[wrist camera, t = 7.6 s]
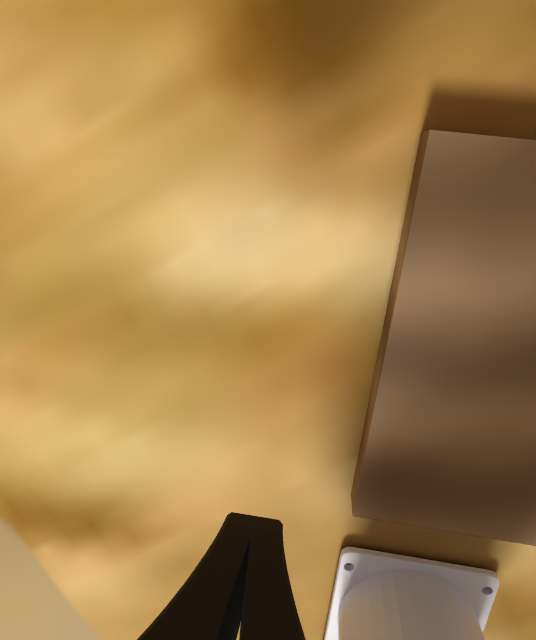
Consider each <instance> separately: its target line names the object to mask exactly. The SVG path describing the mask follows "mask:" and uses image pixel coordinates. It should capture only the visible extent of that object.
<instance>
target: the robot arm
mask: <svg viewBox="0 0 536 640" xmlns="http://www.w3.org/2000/svg"><path fill="white" fill-rule="evenodd" d="M346 563H351V565H347V564H346ZM499 585H500V580H499V578H498V576H497V574H496V573H495V572H494V571H491V570H486V569H480V568H474V567H469V566H463V565H457V564H451V563H445V562H439V561H433V560H427V559H421V558H415V557H409V556H403V555H397V554H391V553H385V552H380V551H374V550H368V549H362V548H356V547H345V548H344V549H342V551H341V553H340V558H339V563H338V568H337V573H336V579H335V584H334V589H333V594H332V599H331V604H330V609H329V614H328V619H327V625H326V630H325V635H324V640H485V639H484V636H483V631H484V628H485V625H486V622H487V619H488V616H489V613H490V611H491V608H492V605H493V602H494V599H495V596H496V593H497V591H498V588H499ZM485 587H487V588H485ZM240 623H241V627H240V639H239V640H306V639H305V636H304V633H303V630H302V626H301V623H300V620H299V616H298V613H297V609H296V605H295V602H294V598H293V593H292V589H291V585H290V581H289V576H288V571H287V566H286V560H285V554H284V546H283V524H282V523H281V522H280V521H279V520H276V519H270V518H264V517H258V516H252V515H245V514H239V513H233V512H232V513H230V514H228V515H227V517H226V519H225V521H224V523H223V525H222V527H221V529H220V531H219V532H218V534H217V536H216V538H215V539H214V541H213V543H212V544H211V546H210V547H209V549H208V551H207V552H206V554H205V555H204V557H203V558H202V559H201V561H200V562H199V564H198V565H197V567H196V568H195V570H194V571H193V572H192V574H191V575H190V577H189V578H188V579H187V581H186V582H185V583H184V585H183V586H182V587H181V588H180V590H179V591H178V592H177V593H176V595H175V596H174V597H173V599H172V600H171V601H170V602H169V604H168V605H167V606H166V607H165V609H164V610H163V611H162V612H161V613H160V614H159V616H158V617H157V618H156V619H155V620H154V621H153V623H152V624H151V625H150V626H149V627H148V628H147V629H146V630H145V631H144V632H143V634H142V635H141V636H140V637H139V638H138V639H137V640H236V638H237V634H238V630H239V626H240Z"/></svg>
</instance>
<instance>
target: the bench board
mask: <svg viewBox="0 0 536 640" xmlns="http://www.w3.org/2000/svg"><path fill="white" fill-rule="evenodd" d="M351 502H352V514H353V516H356V517H362V518H368V519H374V520H380V521H386V522H392V523H399V524H405V525H411V526H417V527H423V528H429V529H435V530H441V531H447V532H454V533H460V534H466V535H472V536H478V537H484V538H490V539H496V540H502V541H509V542H515V543H521V544H527V545H533V546H536V140H529V139H519V138H509V137H499V136H489V135H479V134H469V133H458V132H448V131H438V130H427V131H424V132H422V133H421V137H420V142H419V147H418V153H417V158H416V163H415V168H414V173H413V178H412V183H411V189H410V194H409V199H408V204H407V209H406V214H405V219H404V225H403V230H402V235H401V240H400V245H399V250H398V255H397V261H396V266H395V271H394V276H393V281H392V286H391V291H390V297H389V302H388V307H387V312H386V317H385V322H384V327H383V333H382V338H381V343H380V348H379V353H378V358H377V363H376V368H375V374H374V379H373V384H372V389H371V394H370V399H369V404H368V410H367V415H366V420H365V425H364V430H363V435H362V440H361V446H360V451H359V456H358V461H357V466H356V471H355V476H354V482H353V487H352V492H351Z"/></svg>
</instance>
